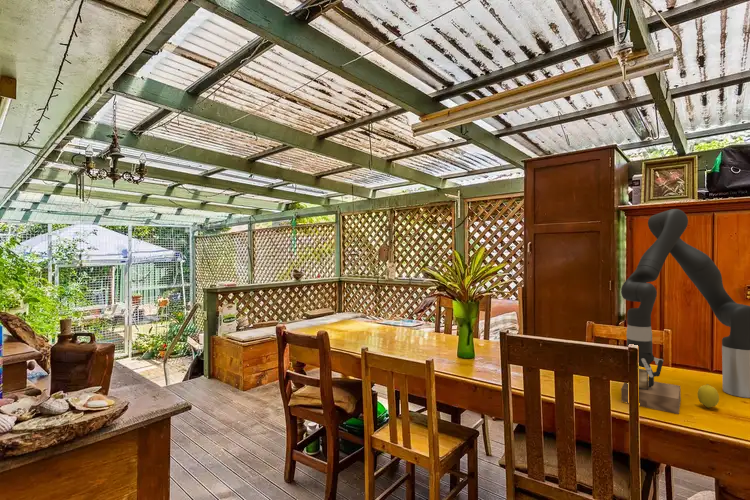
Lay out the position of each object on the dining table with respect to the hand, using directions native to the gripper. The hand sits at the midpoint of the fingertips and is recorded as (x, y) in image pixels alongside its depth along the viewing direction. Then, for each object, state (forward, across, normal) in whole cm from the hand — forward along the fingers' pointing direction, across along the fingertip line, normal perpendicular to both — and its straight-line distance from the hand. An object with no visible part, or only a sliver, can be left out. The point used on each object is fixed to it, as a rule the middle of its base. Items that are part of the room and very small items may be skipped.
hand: (640, 384), depth 138 cm
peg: (+6, 0, 0) cm, 6 cm away
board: (+6, -3, -2) cm, 7 cm away
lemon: (+6, -18, -6) cm, 20 cm away
